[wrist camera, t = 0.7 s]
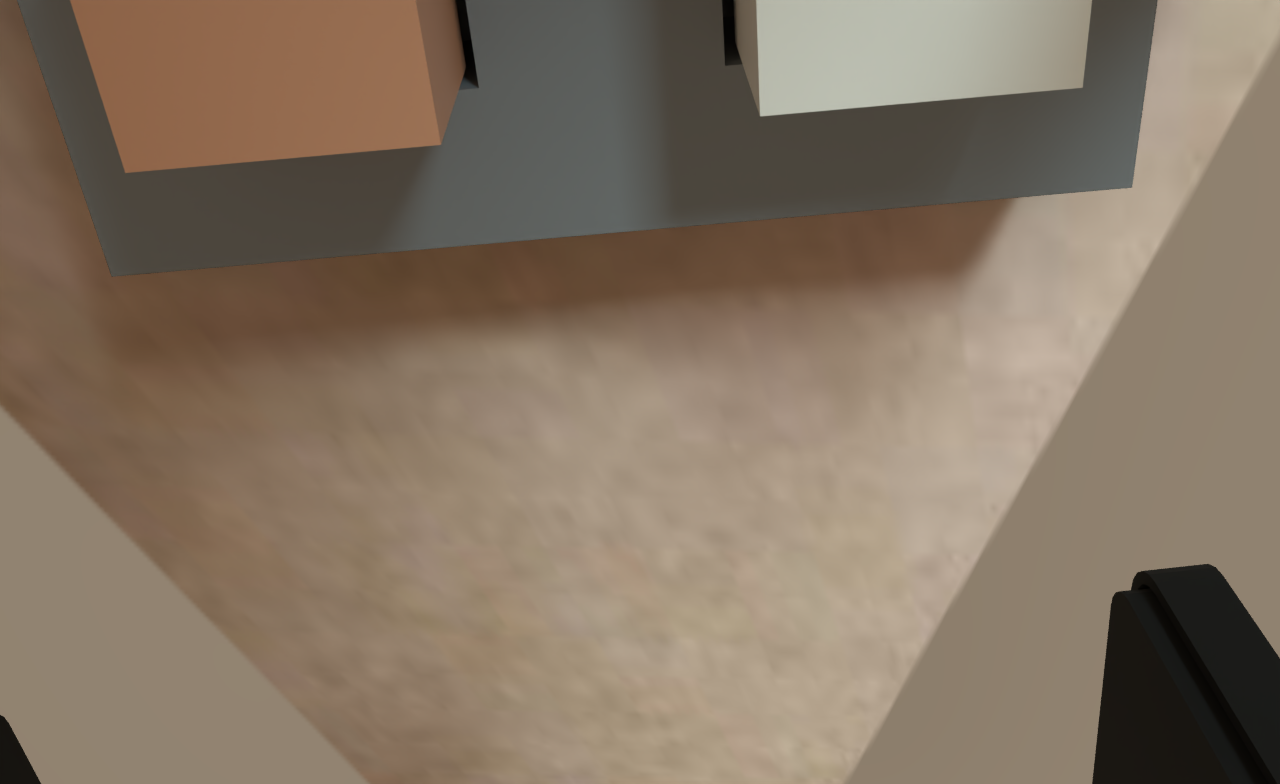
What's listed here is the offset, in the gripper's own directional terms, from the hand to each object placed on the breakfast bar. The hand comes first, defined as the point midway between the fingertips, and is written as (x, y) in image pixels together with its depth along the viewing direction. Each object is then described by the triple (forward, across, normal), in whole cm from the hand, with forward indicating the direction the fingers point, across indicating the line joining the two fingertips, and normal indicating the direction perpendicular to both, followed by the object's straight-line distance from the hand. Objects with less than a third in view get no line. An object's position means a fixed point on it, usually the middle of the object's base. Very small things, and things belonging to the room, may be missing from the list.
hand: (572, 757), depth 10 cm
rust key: (+20, +6, -4) cm, 21 cm away
